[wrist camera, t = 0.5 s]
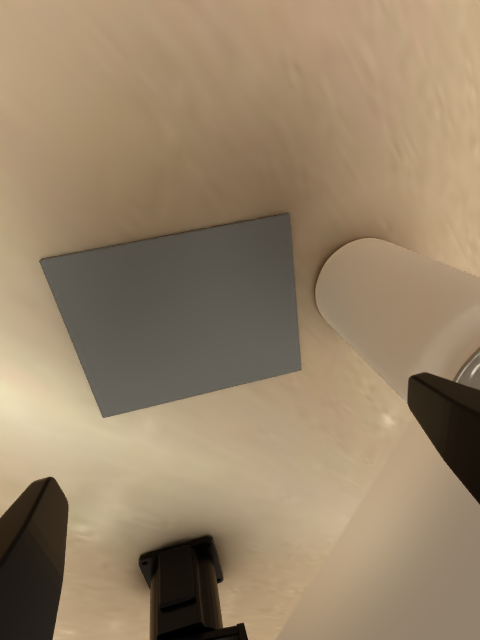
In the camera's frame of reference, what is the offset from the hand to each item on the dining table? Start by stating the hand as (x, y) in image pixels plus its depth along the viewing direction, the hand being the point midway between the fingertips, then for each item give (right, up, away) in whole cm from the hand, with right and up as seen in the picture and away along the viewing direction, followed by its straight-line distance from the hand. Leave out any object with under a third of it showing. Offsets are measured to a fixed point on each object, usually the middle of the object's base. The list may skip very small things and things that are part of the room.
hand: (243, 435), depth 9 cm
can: (+8, +5, +16) cm, 18 cm away
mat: (-3, +3, +14) cm, 15 cm away
